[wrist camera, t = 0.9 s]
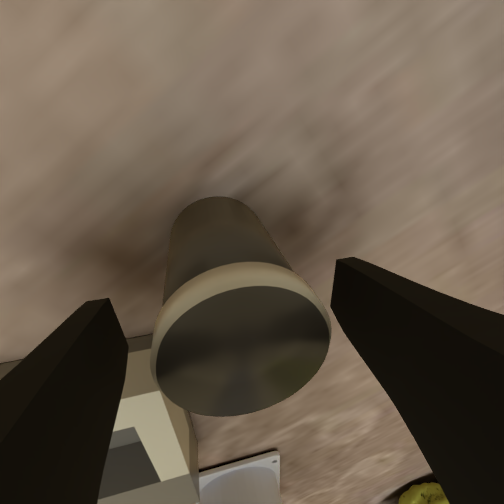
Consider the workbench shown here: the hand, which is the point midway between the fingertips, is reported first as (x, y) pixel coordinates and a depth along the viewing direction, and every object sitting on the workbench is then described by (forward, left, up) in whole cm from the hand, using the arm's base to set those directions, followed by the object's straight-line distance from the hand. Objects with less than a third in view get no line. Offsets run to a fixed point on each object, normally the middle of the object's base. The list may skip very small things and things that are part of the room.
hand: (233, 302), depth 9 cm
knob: (0, 0, -5) cm, 5 cm away
